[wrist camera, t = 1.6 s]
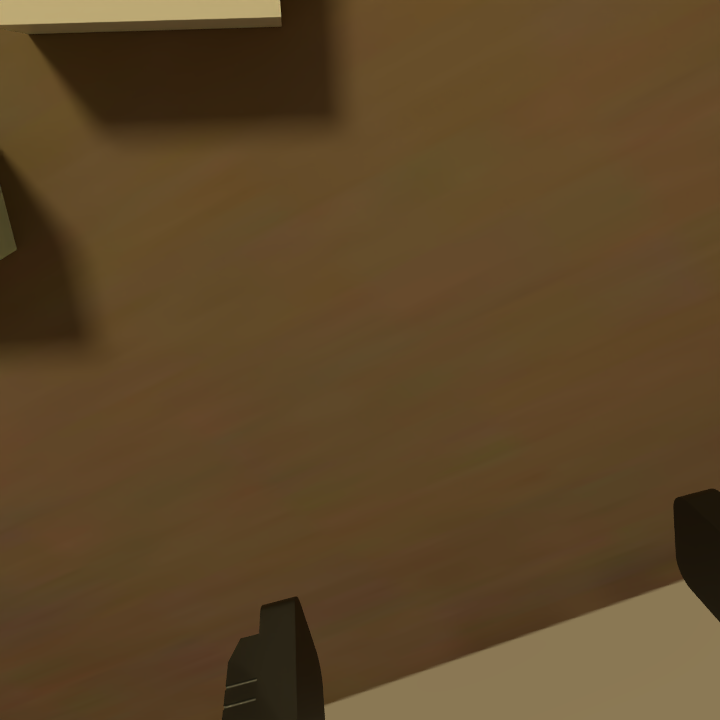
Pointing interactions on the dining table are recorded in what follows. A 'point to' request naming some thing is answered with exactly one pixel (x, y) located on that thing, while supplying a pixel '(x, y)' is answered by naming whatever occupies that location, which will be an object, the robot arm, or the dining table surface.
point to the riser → (135, 15)
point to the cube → (5, 231)
